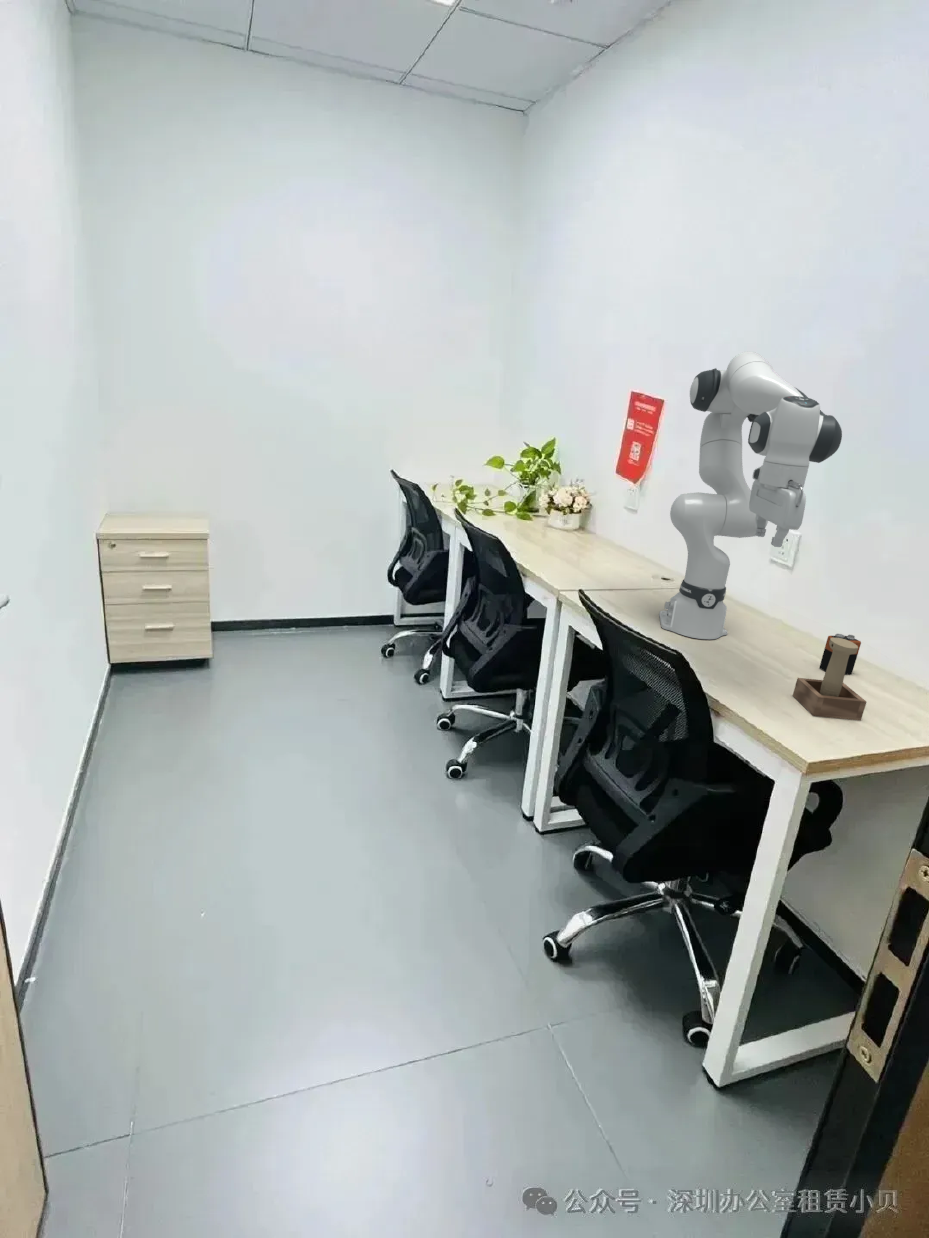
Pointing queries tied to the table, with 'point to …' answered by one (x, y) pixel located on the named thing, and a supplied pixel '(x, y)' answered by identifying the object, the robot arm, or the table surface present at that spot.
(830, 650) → the battery
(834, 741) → the table surface
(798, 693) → the brown square open box
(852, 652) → the handle
